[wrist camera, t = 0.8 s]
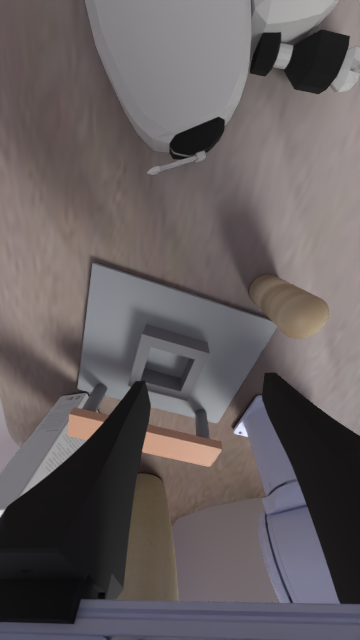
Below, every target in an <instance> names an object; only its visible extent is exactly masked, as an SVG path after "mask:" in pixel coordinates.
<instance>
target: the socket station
mask: <svg viewBox="0 0 360 640" xmlns="http://www.w3.org/2000/svg"><path fill="white" fill-rule="evenodd" d="M276 329H277V326H276V325H275V324H274V323H273V322H272V320H271V319H268V318H265V317H262V316H259V315H256V314H253V313H250V312H246V311H243V310H240V309H237V308H234V307H231V306H228V305H225V304H222V303H219V302H216V301H213V300H210V299H206V298H203V297H200V296H197V295H194V294H191V293H188V292H185V291H182V290H179V289H176V288H173V287H169V286H166V285H163V284H160V283H157V282H154V281H151V280H148V279H145V278H142V277H139V276H136V275H133V274H129V273H126V272H123V271H120V270H117V269H114V268H111V267H108V266H105V265H102V264H99V263H96V262H95V263H92V272H91V280H90V288H89V297H88V305H87V313H86V322H85V330H84V338H83V346H82V355H81V363H80V371H79V380H78V388H77V389H79V390H83V391H87V392H91V394H90V396H89V398H88V399H87V401H86V403H85V404H84V406H83V408H82V409H80V408H76V407H73V409H72V411H71V412H70V414H69V422H68V432H67V436H70V437H75V438H79V439H84V440H88V439H89V438H90V437H91V436H92V435H93V433H94V432H95V431H96V430H97V429H98V428H99V427H100V426H101V425H102V424H103V422H104V421H105V420H106V419H107V418H108V416H109V415H106V414H101V413H97V410H98V408H99V406H100V403H101V401H102V399H103V397H104V396H108V397H112V398H116V399H120V400H122V399H123V397H124V396H125V395H126V393H127V392H128V391H129V389H130V388H131V386H132V385H133V384H134V382H135V381H145V382H146V386H147V390H148V394H149V399H150V403H151V407H152V408H156V409H160V410H164V411H168V412H172V413H176V414H181V415H185V416H189V417H193V418H195V419H196V436H195V435H191V434H186V433H182V432H178V431H174V430H169V429H165V428H161V427H157V426H152V425H148V427H147V432H146V436H145V440H144V445H143V449H142V452H144V453H148V454H153V455H158V456H162V457H167V458H171V459H176V460H181V461H185V462H190V463H194V464H199V465H203V466H208V467H210V466H211V465H212V463H213V462H214V461H215V459H216V458H217V456H218V455H219V454H220V452H221V451H222V444H221V442H220V441H216V440H212V439H210V437H209V428H208V421H209V422H213V423H218V422H219V420H220V418H221V417H222V415H223V414H224V412H225V410H226V409H227V407H228V406H229V404H230V402H231V401H232V399H233V398H234V396H235V394H236V393H237V391H238V390H239V388H240V386H241V385H242V383H243V382H244V380H245V378H246V377H247V375H248V374H249V372H250V370H251V369H252V367H253V366H254V364H255V362H256V361H257V359H258V357H259V356H260V354H261V353H262V351H263V349H264V348H265V346H266V345H267V343H268V341H269V340H270V338H271V337H272V335H273V333H274V332H275V330H276Z"/></svg>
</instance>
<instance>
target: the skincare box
mask: <svg viewBox="0 0 360 640" xmlns="http://www.w3.org/2000/svg"><path fill="white" fill-rule="evenodd" d="M88 398H89V396H88V394H87V393H81V394H73V395H66V396H61V397H60V398H59V399H58V401H57V402H56V403H55V405H54V406H53V407H52V408H51V410H50V411H49V412H48V413H47V415H46V416H45V417H44V419H43V420H42V421H41V422H40V424H39V425H38V426H37V428H36V429H35V430H34V431H33V433H32V434H31V435H30V436H29V438H28V439H27V440H26V442H25V443H24V444H23V445H22V447H21V448H20V449H19V450H18V452H17V453H16V454H15V456H14V457H13V458H12V459H11V461H10V462H9V463H8V464H7V466H6V467H5V468H4V470H3V471H2V472H1V473H0V517H1V515H2V514H3V512H4V511H5V509H6V508H7V506H8V505H9V504H11V503H12V502H14V501H15V500H16V499H18V498H19V497H20V496H22V495H23V494H24V493H26V492H27V491H28V490H30V489H31V488H32V487H34V486H35V485H36V484H38V483H39V482H40V481H41V480H43V479H44V478H45V477H46V476H48V475H49V474H50V473H51V472H53V471H54V470H55V469H56V468H57V467H58V466H60V465H61V464H62V463H63V462H64V461H65V460H67V459H68V458H69V457H70V456H71V455H72V454H73V453H74V452H75V451H76V450H77V449H78V448H80V447H81V446H82V445H83V444H84V443H85V442H86V441H87V440H84V439H79V438H75V437H70V436H67V432H68V422H69V414H70V412H71V411H72V409H73V407H76V408H80V409H82V408H83V406H84V404H85V403H86V401H87V399H88ZM97 413H99V412H98V410H97Z"/></svg>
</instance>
